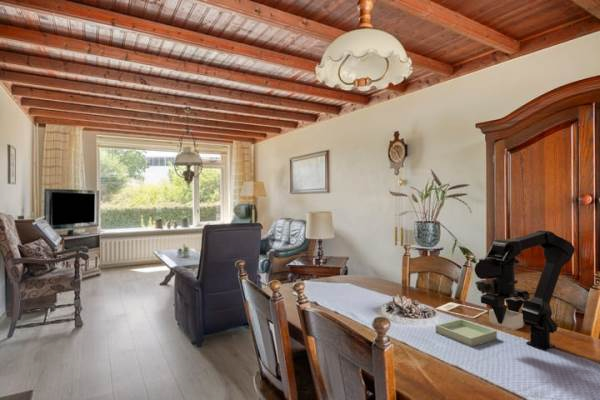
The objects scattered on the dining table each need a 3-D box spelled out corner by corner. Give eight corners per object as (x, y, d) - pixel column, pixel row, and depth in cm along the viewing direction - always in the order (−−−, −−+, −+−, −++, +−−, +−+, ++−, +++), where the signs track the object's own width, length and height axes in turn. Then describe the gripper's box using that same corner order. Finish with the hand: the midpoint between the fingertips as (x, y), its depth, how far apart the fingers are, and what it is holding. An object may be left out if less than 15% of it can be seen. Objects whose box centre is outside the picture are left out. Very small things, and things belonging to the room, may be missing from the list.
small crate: (499, 320, 124) (499, 307, 124) (522, 327, 117) (522, 313, 117) (489, 322, 121) (489, 310, 121) (512, 330, 114) (512, 316, 114)
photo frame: (450, 301, 175) (487, 310, 161) (450, 304, 175) (487, 312, 161) (435, 307, 166) (473, 317, 152) (435, 310, 166) (473, 319, 152)
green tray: (460, 325, 144) (460, 318, 144) (496, 338, 130) (496, 330, 130) (435, 332, 137) (435, 325, 137) (471, 347, 123) (471, 338, 123)
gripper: (499, 269, 131) (499, 311, 131) (466, 275, 122) (467, 319, 122) (530, 275, 121) (530, 320, 121) (496, 281, 112) (497, 329, 112)
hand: (505, 321), depth 119 cm, fingers closed on small crate, 6 cm apart
